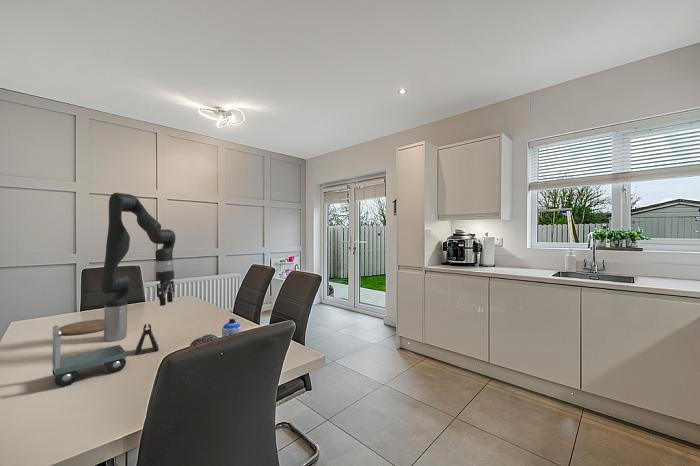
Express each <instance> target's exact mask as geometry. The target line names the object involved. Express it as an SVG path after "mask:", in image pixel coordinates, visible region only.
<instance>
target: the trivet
mask: <svg viewBox="0 0 700 466" xmlns="http://www.w3.org/2000/svg"><path fill="white" fill-rule="evenodd" d="M59 329H60V331H61V333H62V334H61V337H62V336H64V337H65V336H66V337H67V336H68V337H70V336H72V337H73V336H81V335H82V336H83V335H89V334H93V333H94V334H95V333H99V332H102V331H103V332H104V318H103V319H102V318H100V319H99V318H98V319H89V320H84V321H83V320H82V321H77V322H72V323H69V324H65V325H63V326H60V327H59Z"/></svg>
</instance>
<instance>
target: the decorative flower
mask: <svg viewBox="0 0 700 466" xmlns="http://www.w3.org/2000/svg"><path fill="white" fill-rule="evenodd" d="M216 338H218V339H219V337H218V336H216V335H214V334H205V335H202V336H201V337H197V338H195V339H194V340H192V341H191V342H190V344H189V346H192V345H196V344H199V343H202V342H206V341H209V340H212V339H216Z"/></svg>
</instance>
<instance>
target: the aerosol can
mask: <svg viewBox="0 0 700 466" xmlns="http://www.w3.org/2000/svg"><path fill="white" fill-rule="evenodd" d="M242 327H243V326H242V324H240V323H239V322H237V321H236V319H235V318H229V320H228V322H226V323H225V324H224V325H223V326H222V329H221V338H222V337H224V336H228V335H231V334H235V333H238V332H242V333H243V331H242V330H243V328H242Z"/></svg>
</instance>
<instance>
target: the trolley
mask: <svg viewBox="0 0 700 466" xmlns="http://www.w3.org/2000/svg"><path fill="white" fill-rule="evenodd" d="M59 328H60V327H59V325H55V324H54V325H53V326H52V360H51V361H52V363H51V366H52V370H51V372H52V375H53V377H54V384H55V385H56V386H58V387H61V388H62V387H63V388H64V387H68V386H70V385H73V384H74V383H75V382H76V381H77V379H78V378H79V372H78V370H79V371H80V370H82V369H87V368H90V367H93V366H94V367H95V366H99V365H102V364H103V365H104V366H105V369H106V370H107V371H108V372H109V373H112V374H114V373H118V372H121V371H122V370H124V368H125V367H126V364H127V361H126V359H127V351H125V349H124V348H123V347H122V346H121V344H118V345H113V346H109V347H104V348H100V349H95V350H91V351H90V350H89V351H86V352H81V353H76V354H72V355H67V356H63V357H61V342H62V341H61V338H62V335H61V334H62V333H61V331H60V329H59Z"/></svg>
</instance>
